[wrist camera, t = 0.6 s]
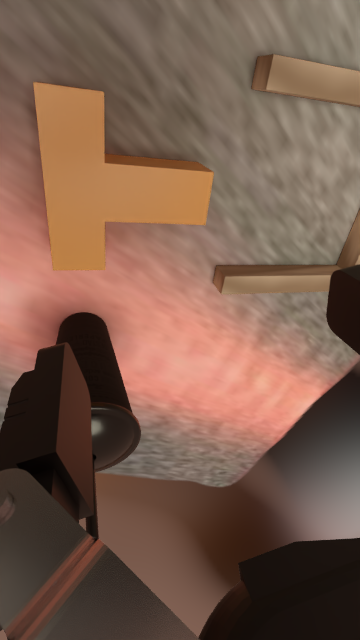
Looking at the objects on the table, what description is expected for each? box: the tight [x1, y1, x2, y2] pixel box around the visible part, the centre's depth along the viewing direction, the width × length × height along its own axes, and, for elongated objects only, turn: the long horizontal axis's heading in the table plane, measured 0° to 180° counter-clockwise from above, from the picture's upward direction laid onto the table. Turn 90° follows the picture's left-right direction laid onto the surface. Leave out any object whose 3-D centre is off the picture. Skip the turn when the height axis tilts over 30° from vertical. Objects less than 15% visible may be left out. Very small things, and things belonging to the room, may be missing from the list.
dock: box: [213, 54, 360, 294], centre depth 31 cm, size 19×17×2 cm
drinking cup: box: [56, 313, 141, 539], centre depth 26 cm, size 8×8×20 cm
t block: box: [33, 82, 214, 270], centre depth 26 cm, size 12×12×4 cm
